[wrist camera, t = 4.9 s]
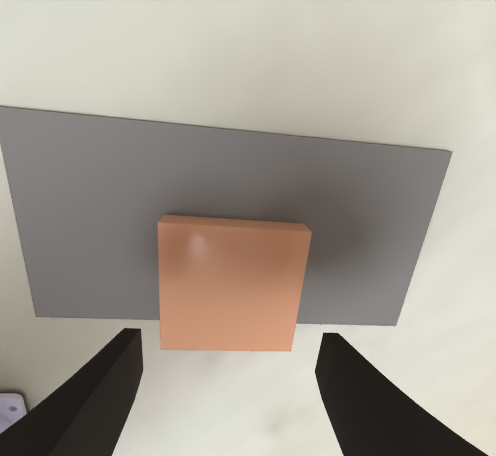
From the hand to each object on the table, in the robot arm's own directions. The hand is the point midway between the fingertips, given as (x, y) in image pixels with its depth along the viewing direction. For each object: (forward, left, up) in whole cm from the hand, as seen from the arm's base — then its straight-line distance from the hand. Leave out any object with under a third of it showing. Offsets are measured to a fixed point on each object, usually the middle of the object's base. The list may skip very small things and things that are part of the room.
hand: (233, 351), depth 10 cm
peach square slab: (-4, 0, -5) cm, 7 cm away
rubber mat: (+2, 0, -6) cm, 7 cm away
